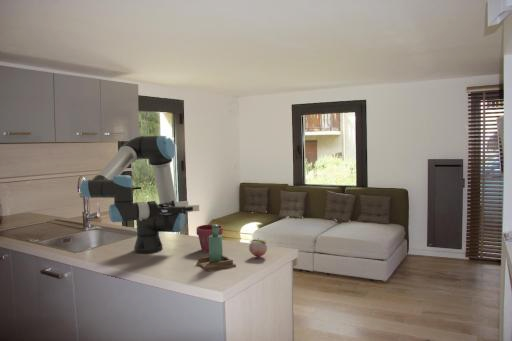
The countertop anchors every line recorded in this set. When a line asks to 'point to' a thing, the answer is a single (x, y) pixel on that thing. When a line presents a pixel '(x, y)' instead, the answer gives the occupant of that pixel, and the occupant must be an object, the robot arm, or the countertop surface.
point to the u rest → (215, 264)
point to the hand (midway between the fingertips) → (193, 205)
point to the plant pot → (206, 235)
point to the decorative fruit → (258, 247)
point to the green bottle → (215, 246)
